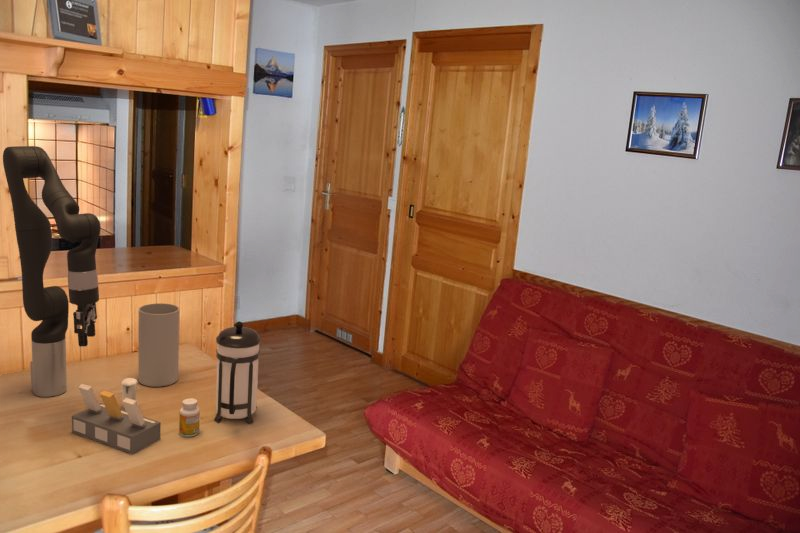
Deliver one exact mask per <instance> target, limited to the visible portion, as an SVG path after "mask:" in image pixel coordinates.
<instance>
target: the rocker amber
mask: <svg viewBox="0 0 800 533" xmlns="http://www.w3.org/2000/svg"><path fill="white" fill-rule="evenodd" d="M99 395H100V399H101V400H102V403H103V404H104V405H105V407H106V410H107V412H108V414H109V416H110V417H113V418H116V419H119V420H123V419H124V417H123V416H122V413H121V410H122V409H121V408H120V405H119V404H118V401H117V399H116V396H115V394H114V393H112V392H109V391H107V390H103V391H101V392H100V393H99ZM120 409H121V410H120Z"/></svg>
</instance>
